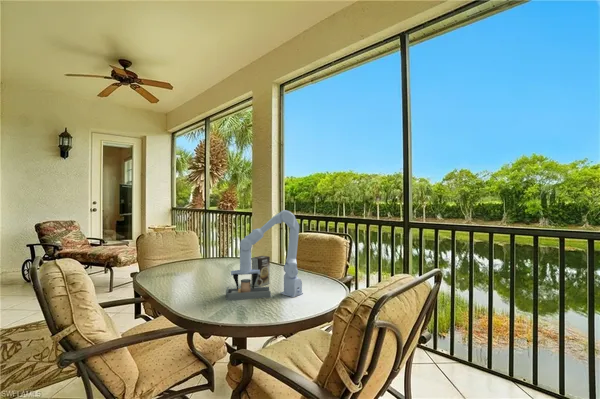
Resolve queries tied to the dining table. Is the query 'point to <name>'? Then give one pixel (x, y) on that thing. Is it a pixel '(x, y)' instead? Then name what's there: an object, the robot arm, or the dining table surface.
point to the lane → (248, 293)
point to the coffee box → (261, 270)
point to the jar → (245, 285)
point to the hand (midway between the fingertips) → (245, 288)
